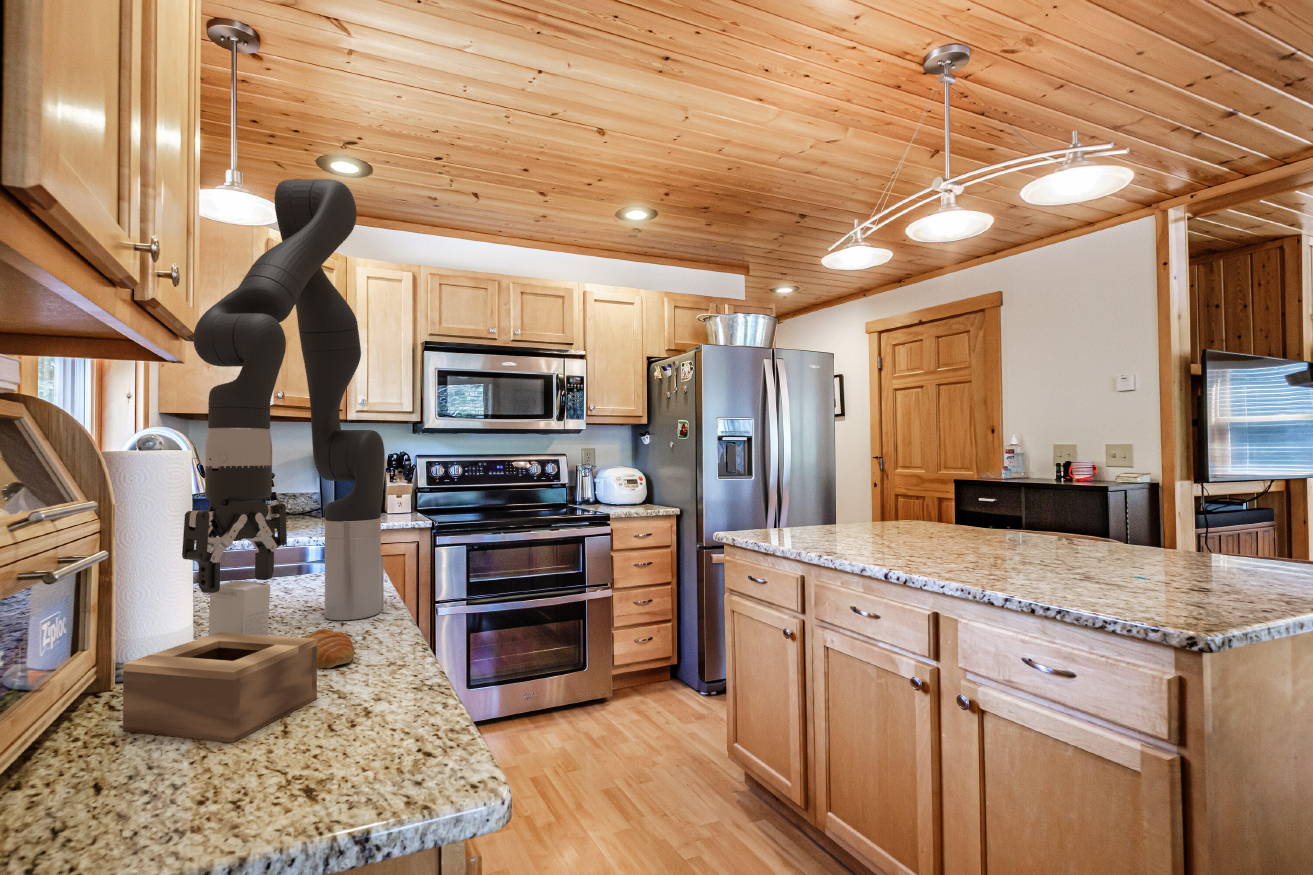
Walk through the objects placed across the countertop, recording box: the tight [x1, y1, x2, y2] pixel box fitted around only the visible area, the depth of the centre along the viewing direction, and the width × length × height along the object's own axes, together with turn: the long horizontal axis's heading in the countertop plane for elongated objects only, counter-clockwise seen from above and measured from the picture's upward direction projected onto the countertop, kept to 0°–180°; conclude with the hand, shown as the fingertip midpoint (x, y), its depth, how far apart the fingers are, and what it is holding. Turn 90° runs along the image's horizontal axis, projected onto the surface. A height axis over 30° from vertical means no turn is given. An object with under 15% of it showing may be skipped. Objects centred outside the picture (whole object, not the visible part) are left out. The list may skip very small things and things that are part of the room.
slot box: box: [122, 632, 318, 744], centre depth 75 cm, size 12×14×7 cm
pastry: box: [304, 628, 355, 669], centre depth 94 cm, size 9×7×4 cm
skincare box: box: [208, 579, 271, 636], centre depth 88 cm, size 6×4×12 cm
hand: (238, 585), depth 88 cm, fingers open, 8 cm apart
